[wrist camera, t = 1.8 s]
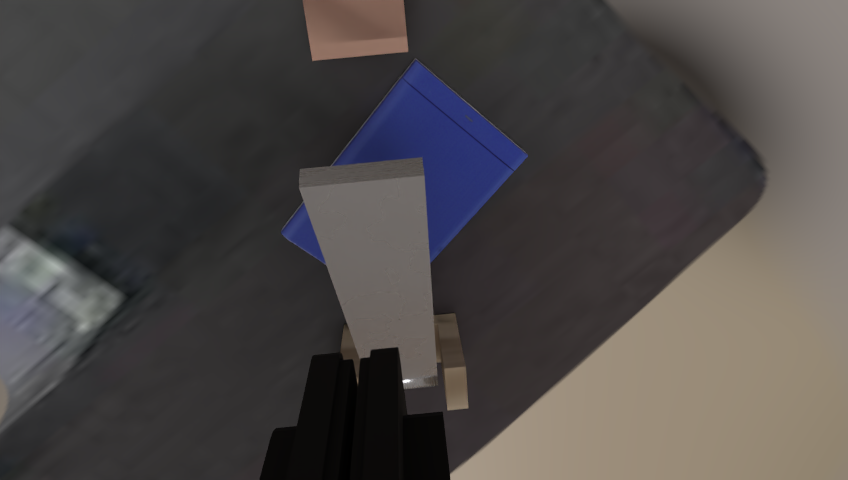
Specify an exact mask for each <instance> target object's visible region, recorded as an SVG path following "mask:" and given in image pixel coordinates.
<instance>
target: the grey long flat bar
mask: <svg viewBox="0 0 848 480" xmlns="http://www.w3.org/2000/svg"><path fill="white" fill-rule="evenodd" d="M299 189H300V192H301V195H302V198H303V201H304V204H305V206H306V209H307V212H308V215H309V218H310V220H311V223H312V226H313V229H314V232H315V234H316V237H317V240H318V243H319V246H320V249H321V251H322V254H323V257H324V260H325V263H326V265H327V268H328V271H329V274H330V277H331V279H332V282H333V285H334V288H335V291H336V294H337V296H338V299H339V302H340V305H341V308H342V310H343V313H344V316H345V319H346V322H347V324H348V327H349V330H350V333H351V336H352V339H353V341H354V344H355V347H356V350H357V353H358V355H359V358H360V359H361V358H367V357H370V351H371V350H372V349H382V348H393V347H398V348H399V354H400V362H401V370H402V378H403V386H404V389H414V388H423V387H433V386H438V377H437V362H436V347H435V331H434V316H433V300H432V285H431V269H430V254H429V238H428V223H427V207H426V192H425V176H424V168H423V160H422V157H420V158H409V159H399V160H389V161H379V162H369V163H358V164H348V165H338V166H328V167H317V168H307V169H300V177H299Z"/></svg>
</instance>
